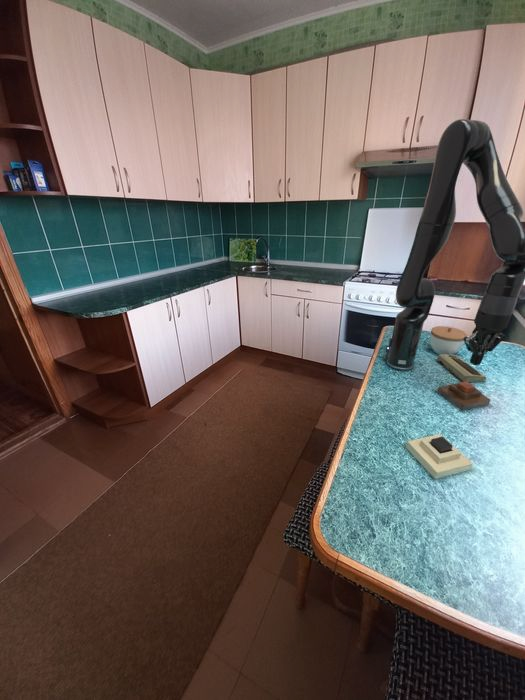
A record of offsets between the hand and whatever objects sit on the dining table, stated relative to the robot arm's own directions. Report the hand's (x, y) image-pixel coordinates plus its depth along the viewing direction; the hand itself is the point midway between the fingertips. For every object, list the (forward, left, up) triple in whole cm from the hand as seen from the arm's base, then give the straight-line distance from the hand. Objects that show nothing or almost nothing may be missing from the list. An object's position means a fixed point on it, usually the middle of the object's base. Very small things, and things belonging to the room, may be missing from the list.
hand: (474, 363), depth 87 cm
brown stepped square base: (0, 0, -13) cm, 13 cm away
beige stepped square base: (+18, -26, -13) cm, 34 cm away
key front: (+18, -26, -9) cm, 33 cm away
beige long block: (-14, +13, -13) cm, 23 cm away
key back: (0, 0, -9) cm, 9 cm away
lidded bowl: (-28, +19, -13) cm, 36 cm away
